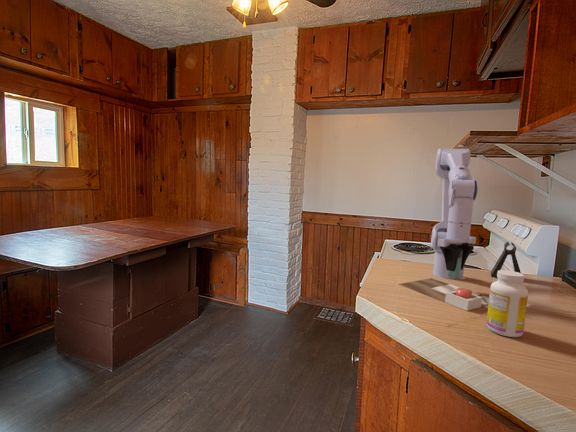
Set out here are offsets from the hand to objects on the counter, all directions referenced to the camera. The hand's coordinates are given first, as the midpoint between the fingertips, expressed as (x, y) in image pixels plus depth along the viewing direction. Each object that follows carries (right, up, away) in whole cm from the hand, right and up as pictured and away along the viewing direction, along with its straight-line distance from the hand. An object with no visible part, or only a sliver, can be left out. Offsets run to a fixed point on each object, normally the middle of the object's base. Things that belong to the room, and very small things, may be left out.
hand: (454, 269), depth 91 cm
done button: (-3, -5, -11) cm, 13 cm away
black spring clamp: (+27, -6, +19) cm, 34 cm away
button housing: (-4, -8, -11) cm, 14 cm away
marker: (0, -2, 0) cm, 2 cm away
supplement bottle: (-1, -10, -22) cm, 24 cm away
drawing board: (-3, -7, -2) cm, 8 cm away
